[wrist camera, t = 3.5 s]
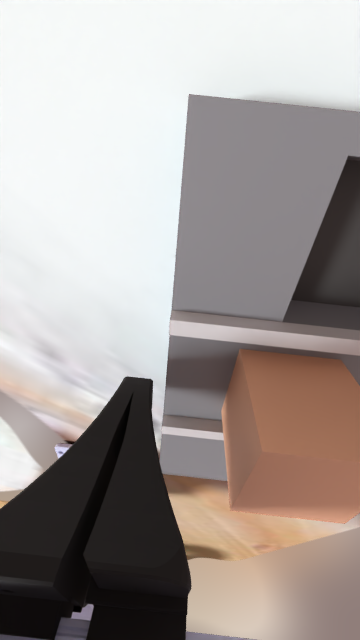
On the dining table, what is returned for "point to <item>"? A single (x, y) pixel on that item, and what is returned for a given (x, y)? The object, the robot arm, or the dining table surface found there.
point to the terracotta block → (292, 437)
